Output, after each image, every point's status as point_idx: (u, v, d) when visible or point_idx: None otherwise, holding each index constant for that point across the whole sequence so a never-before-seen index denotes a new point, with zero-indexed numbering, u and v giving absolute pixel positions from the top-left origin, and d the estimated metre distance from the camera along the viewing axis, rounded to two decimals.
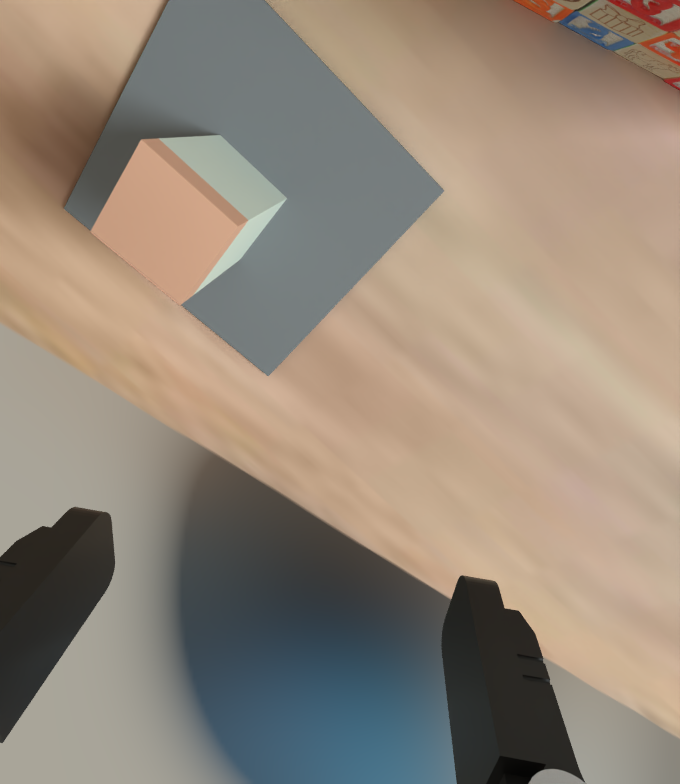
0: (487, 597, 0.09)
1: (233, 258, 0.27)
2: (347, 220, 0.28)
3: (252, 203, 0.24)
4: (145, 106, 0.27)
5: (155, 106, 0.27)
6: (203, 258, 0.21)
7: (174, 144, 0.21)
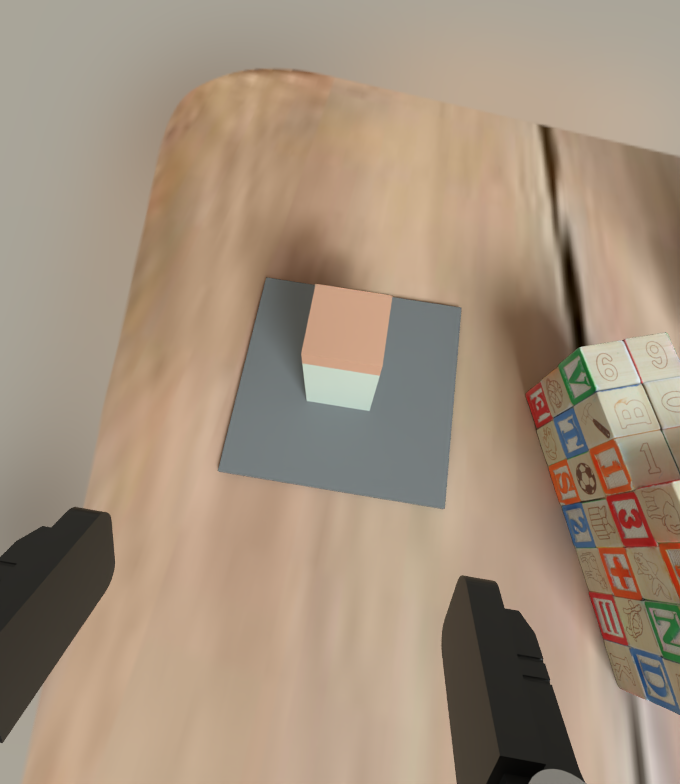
0: (487, 597, 0.09)
1: (320, 389, 0.34)
2: (383, 457, 0.36)
3: None
4: None
5: None
6: (346, 355, 0.29)
7: None
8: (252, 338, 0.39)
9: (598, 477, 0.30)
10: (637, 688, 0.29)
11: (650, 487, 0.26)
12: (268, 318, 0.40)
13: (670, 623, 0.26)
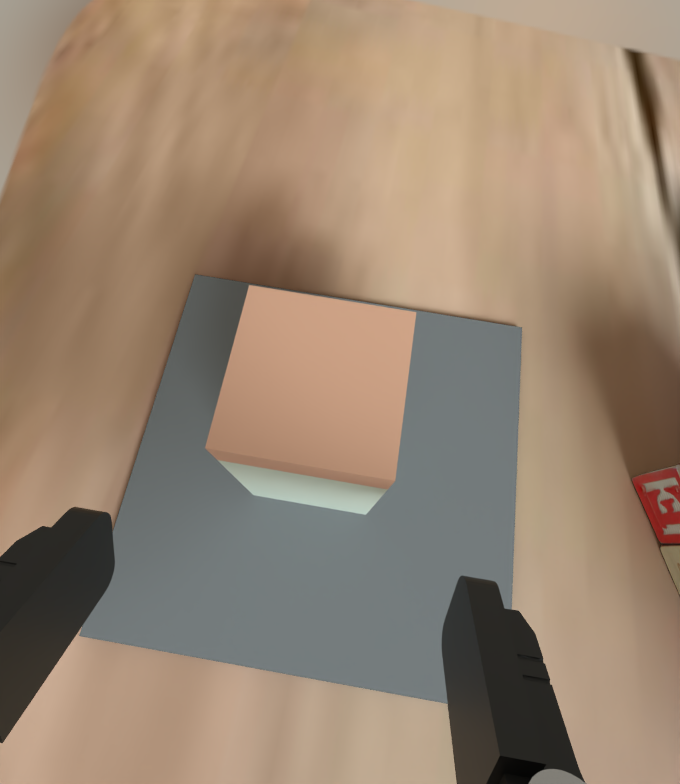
0: (487, 597, 0.09)
1: (271, 488, 0.18)
2: (390, 608, 0.19)
3: None
4: None
5: None
6: (311, 451, 0.12)
7: None
8: (164, 379, 0.22)
9: None
10: None
11: None
12: (194, 344, 0.23)
13: None
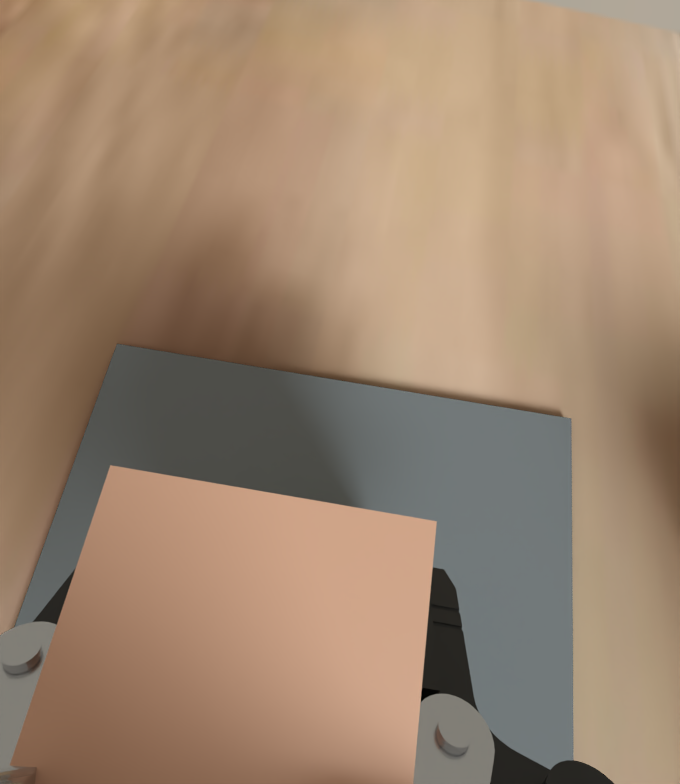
0: None
1: None
2: None
3: None
4: (341, 417, 0.17)
5: (350, 431, 0.17)
6: None
7: None
8: (62, 503, 0.16)
9: None
10: None
11: None
12: (109, 448, 0.16)
13: None
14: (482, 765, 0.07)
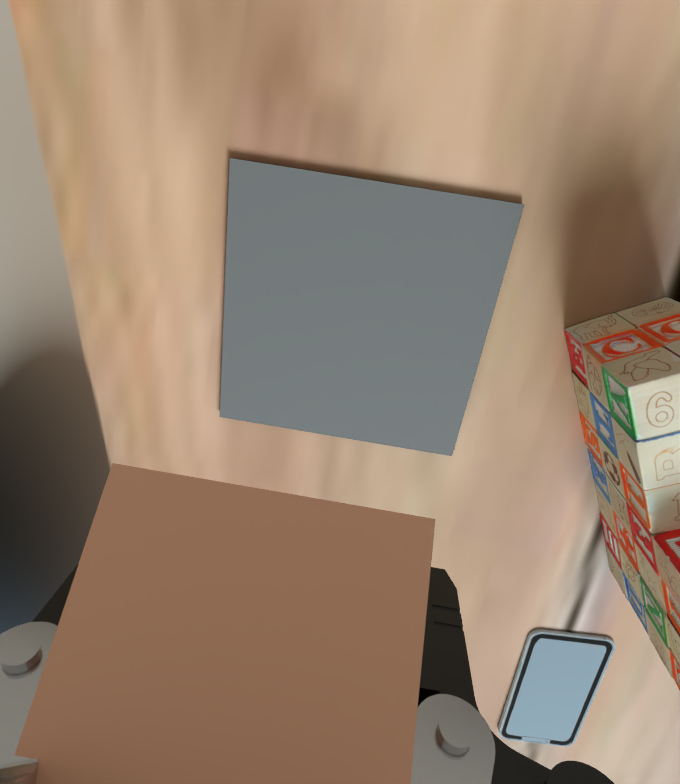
0: None
1: None
2: (391, 408, 0.33)
3: None
4: (376, 207, 0.27)
5: (381, 216, 0.28)
6: None
7: None
8: (227, 262, 0.30)
9: (622, 483, 0.27)
10: (622, 589, 0.35)
11: (665, 555, 0.24)
12: (243, 231, 0.29)
13: (655, 610, 0.29)
14: (483, 766, 0.07)
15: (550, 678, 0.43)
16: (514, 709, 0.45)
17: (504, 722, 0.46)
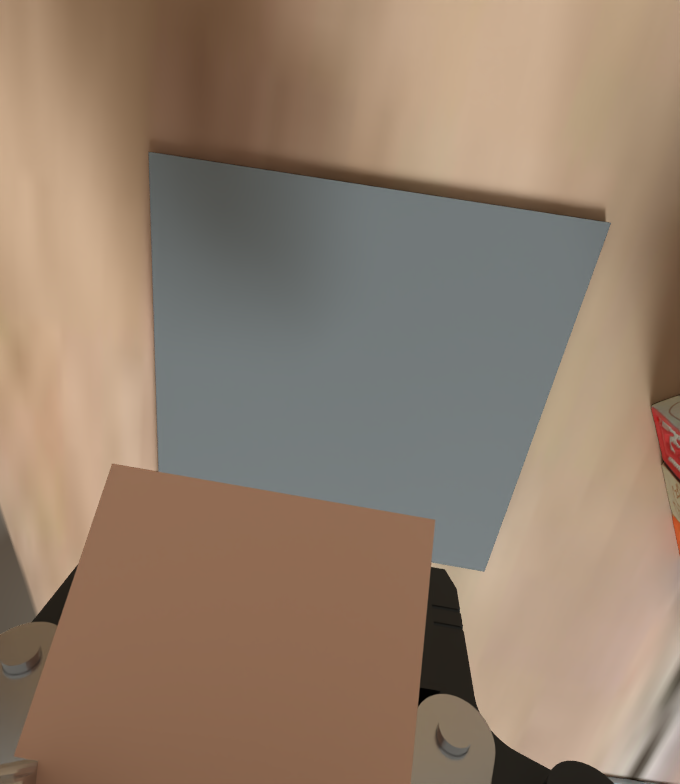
0: None
1: None
2: (399, 508, 0.23)
3: None
4: (376, 227, 0.18)
5: (384, 241, 0.18)
6: None
7: None
8: (156, 308, 0.20)
9: None
10: None
11: None
12: (176, 262, 0.19)
13: None
14: (483, 766, 0.07)
15: None
16: None
17: None
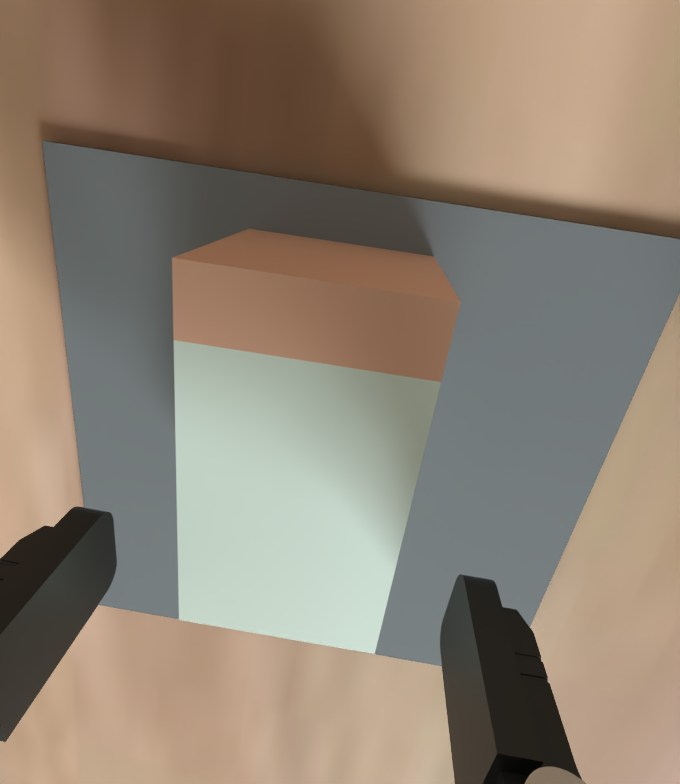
0: (485, 596, 0.10)
1: (227, 529, 0.11)
2: (399, 604, 0.18)
3: None
4: None
5: None
6: (331, 276, 0.08)
7: None
8: (70, 354, 0.15)
9: None
10: None
11: None
12: (92, 294, 0.14)
13: None
14: None
15: None
16: None
17: None
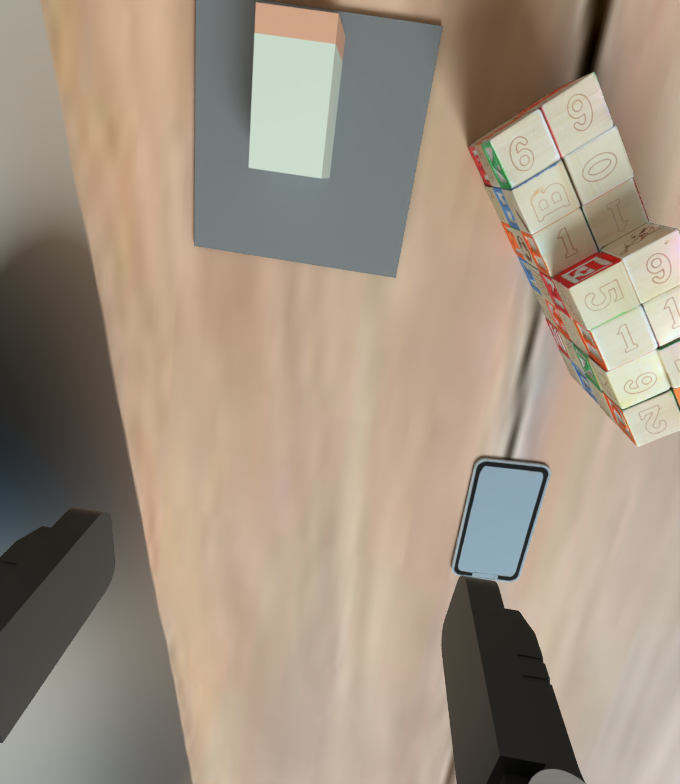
0: (487, 597, 0.09)
1: (268, 116, 0.31)
2: (341, 230, 0.38)
3: (331, 89, 0.30)
4: None
5: None
6: None
7: (340, 76, 0.33)
8: (196, 91, 0.35)
9: (530, 253, 0.32)
10: (578, 382, 0.39)
11: (559, 283, 0.28)
12: (209, 60, 0.34)
13: (585, 362, 0.33)
14: None
15: (495, 509, 0.48)
16: (464, 543, 0.50)
17: (456, 557, 0.51)
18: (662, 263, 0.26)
